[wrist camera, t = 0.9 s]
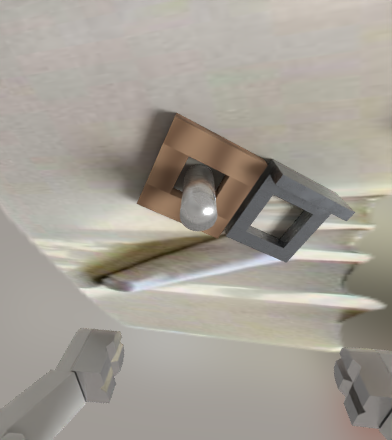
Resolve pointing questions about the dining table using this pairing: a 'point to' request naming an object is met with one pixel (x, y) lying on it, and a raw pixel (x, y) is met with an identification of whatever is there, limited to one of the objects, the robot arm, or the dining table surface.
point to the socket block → (208, 154)
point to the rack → (293, 193)
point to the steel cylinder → (198, 199)
